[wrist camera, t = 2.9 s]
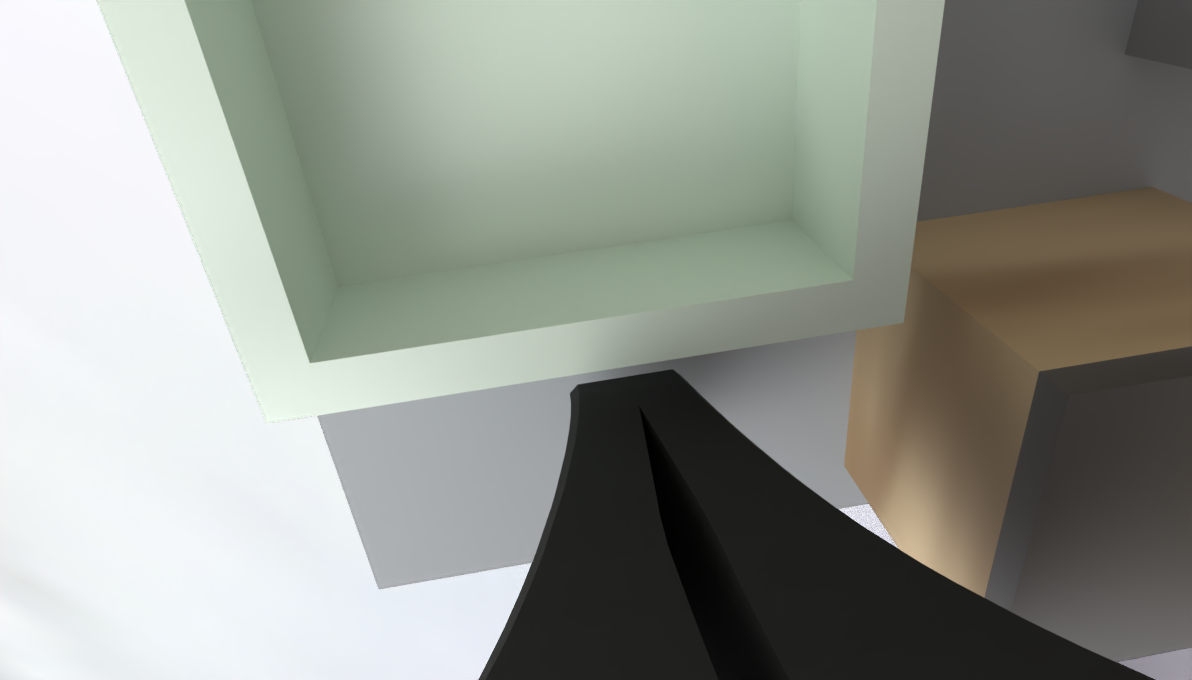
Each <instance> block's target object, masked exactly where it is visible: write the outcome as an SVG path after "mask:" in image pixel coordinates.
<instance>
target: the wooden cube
mask: <svg viewBox="0 0 1192 680" xmlns="http://www.w3.org/2000/svg"><path fill="white" fill-rule="evenodd" d="M844 467H845V468H846V470H847V471H848V473H849V474H850V476H851V477H852V479H853V480H854V482H855V483H856V485H857V486H858V488H859V489H860V491H861V492H862V494H863V495H864V497H865V498H866V500H867V501H868V503H869V504H870V506H871V507H872V509H873V510H874V512H875V513H876V515H877V516H878V518H879V520H880V521H881V523H882V524H883V526H884V527H885V529H886V530H887V532H888V533H889V535H890V536H891V538H892V539H893V541H894V542H895V544H896V545H897V547H898V548H899V549H900V550H901V551H903V552H904V553H906V554H908V555H909V556H911V557H912V558H914V559H916V560H917V561H919V562H921V563H922V564H924V565H926V566H927V567H929V568H931V569H933V570H934V571H936V572H938V573H940V574H942V575H943V576H945V577H947V578H949V579H950V580H952V581H954V582H956V583H957V584H959V585H961V586H963V587H965V588H967V589H969V590H971V591H973V592H974V593H976V594H978V595H980V596H982V597H984V598H986V599H988V600H990V601H991V602H993V603H995V604H997V605H999V606H1001V607H1003V608H1005V609H1007V610H1009V611H1010V612H1012V613H1014V614H1016V615H1018V616H1020V617H1022V618H1024V619H1026V620H1028V621H1030V622H1032V623H1034V624H1036V625H1038V626H1040V627H1042V628H1044V629H1046V630H1048V631H1050V632H1052V633H1054V634H1056V635H1059V636H1061V637H1063V638H1065V639H1067V640H1069V641H1071V642H1073V643H1075V644H1077V645H1079V646H1081V647H1083V648H1086V649H1088V650H1090V651H1092V652H1095V653H1097V654H1099V655H1101V656H1104V657H1106V658H1108V659H1110V660H1112V661H1115V662H1119V661H1125V660H1130V659H1135V658H1140V657H1145V656H1150V655H1155V654H1160V653H1166V652H1171V651H1176V650H1181V649H1186V648H1191V647H1192V203H1191V202H1188V201H1186V200H1183V199H1181V198H1178V197H1176V196H1174V195H1171V194H1169V193H1166V192H1164V191H1161V190H1159V189H1156V188H1154V187H1148V188H1142V189H1135V190H1128V191H1121V192H1115V193H1108V194H1101V195H1094V196H1088V197H1081V198H1074V199H1068V200H1061V201H1054V202H1047V203H1041V204H1034V205H1027V206H1020V207H1014V208H1007V209H1000V210H993V211H987V212H980V213H973V214H967V215H960V216H953V217H946V218H940V219H933V220H926V221H919V222H917V223H916V230H915V238H914V246H913V254H912V262H911V269H910V277H909V285H908V293H907V301H906V309H905V316H904V323H900V324H894V325H887V326H881V327H875V328H868V329H862V330H857V331H856V342H855V353H854V364H853V375H852V386H851V397H850V408H849V419H848V430H847V440H846V451H845V462H844Z"/></svg>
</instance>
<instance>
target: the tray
mask: <svg viewBox="0 0 1192 680" xmlns="http://www.w3.org/2000/svg"><path fill="white" fill-rule="evenodd" d="M97 2H98V5H99V7H100V10H101V12H102V15H103V17H104V20H105V22H106V25H107V27H108V30H109V32H110V35H111V37H112V40H113V42H114V45H115V47H116V50H117V52H118V55H119V57H120V60H121V62H122V65H123V67H124V70H125V72H126V75H127V77H128V80H129V82H130V85H131V87H132V90H133V92H134V95H135V97H136V100H137V102H138V105H139V107H140V110H141V112H142V115H143V117H144V120H145V122H146V125H147V127H148V130H149V132H150V135H151V137H152V140H153V142H154V145H155V147H156V150H157V152H158V155H159V157H160V160H161V162H162V165H163V167H164V170H165V172H166V175H167V177H168V180H169V182H170V185H171V187H172V190H173V192H174V195H175V197H176V200H177V202H178V205H179V207H180V210H181V212H182V215H183V217H184V220H185V222H186V225H187V227H188V230H189V232H190V235H191V237H192V240H193V242H194V245H195V247H196V250H197V252H198V255H199V257H200V260H201V262H202V265H203V267H204V270H205V272H206V275H207V277H208V280H209V282H210V285H211V287H212V290H213V292H214V294H215V297H216V299H217V302H218V304H219V307H220V309H221V312H222V314H223V317H224V319H225V322H226V324H227V327H228V329H229V332H230V334H231V337H232V339H233V342H234V344H235V347H236V349H237V352H238V354H239V357H240V359H241V362H242V364H243V367H244V369H245V372H246V374H247V377H248V379H249V382H250V384H251V387H252V389H253V392H254V394H255V397H256V399H257V402H258V404H259V407H260V409H261V412H262V414H263V417H264V419H265V422H266V424H268V423H274V422H280V421H287V420H293V419H299V418H306V417H312V416H318V415H325V414H331V413H337V412H344V411H350V410H356V409H363V408H369V407H375V406H382V405H388V404H394V403H400V402H407V401H413V400H419V399H426V398H432V397H438V396H445V395H451V394H457V393H464V392H470V391H476V390H483V389H489V388H495V387H502V386H508V385H514V384H521V383H527V382H533V381H540V380H546V379H552V378H559V377H565V376H571V375H578V374H584V373H590V372H596V371H603V370H609V369H615V368H622V367H628V366H634V365H641V364H647V363H653V362H660V361H666V360H672V359H679V358H685V357H691V356H698V355H704V354H710V353H717V352H723V351H729V350H736V349H742V348H748V347H755V346H761V345H767V344H774V343H780V342H786V341H792V340H799V339H805V338H811V337H818V336H824V335H830V334H837V333H843V332H849V331H856V330H862V329H868V328H875V327H881V326H887V325H894V324H900V323H904V316H905V309H906V301H907V293H908V285H909V277H910V269H911V262H912V254H913V246H914V238H915V230H916V223H917V215H918V207H919V199H920V191H921V183H922V176H923V168H924V160H925V152H926V144H927V137H928V129H929V121H930V113H931V105H932V97H933V90H934V82H935V74H936V66H937V58H938V50H939V43H940V35H941V27H942V19H943V11H944V4H945V0H97Z"/></svg>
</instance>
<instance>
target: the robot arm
mask: <svg viewBox="0 0 1192 680" xmlns="http://www.w3.org/2000/svg"><path fill="white" fill-rule="evenodd" d="M570 399H571V418H570V427H569V434H568V440H567V446H566V451H565V456H564V460H563V464H562V468H561V472H560V476H559V480H558V484H557V488H556V492H555V496H554V499H553V503H552V506H551V509H550V512H549V515H548V518H547V521H546V524H545V527H544V530H543V533H542V536H541V539H540V542H539V545H538V548H537V551H536V554H535V556H534V559H533V562H532V564H531V567H530V569H529V572H528V574H527V577H526V579H525V582H524V584H523V587H522V589H521V592H520V594H519V596H518V599H517V601H516V603H515V605H514V608H513V610H512V612H511V614H510V617H509V619H508V621H507V623H506V626H505V628H504V630H503V632H502V634H501V636H500V638H499V640H498V642H497V644H496V646H495V648H494V650H493V652H492V654H491V656H490V658H489V660H488V662H487V664H486V666H485V668H484V670H483V672H482V674H481V676H480V678H479V680H1155V679H1153V678H1150V677H1148V676H1146V675H1144V674H1141V673H1139V672H1137V671H1135V670H1133V669H1130V668H1128V667H1126V666H1124V665H1121V664H1119V663H1117V662H1115V661H1112V660H1110V659H1108V658H1106V657H1104V656H1101V655H1099V654H1097V653H1095V652H1092V651H1090V650H1088V649H1086V648H1083V647H1081V646H1079V645H1077V644H1075V643H1073V642H1071V641H1069V640H1067V639H1065V638H1063V637H1061V636H1059V635H1056V634H1054V633H1052V632H1050V631H1048V630H1046V629H1044V628H1042V627H1040V626H1038V625H1036V624H1034V623H1032V622H1030V621H1028V620H1026V619H1024V618H1022V617H1020V616H1018V615H1016V614H1014V613H1012V612H1010V611H1009V610H1007V609H1005V608H1003V607H1001V606H999V605H997V604H995V603H993V602H991V601H990V600H988V599H986V598H984V597H982V596H980V595H978V594H976V593H974V592H973V591H971V590H969V589H967V588H965V587H963V586H961V585H959V584H957V583H956V582H954V581H952V580H950V579H949V578H947V577H945V576H943V575H942V574H940V573H938V572H936V571H934V570H933V569H931V568H929V567H927V566H926V565H924V564H922V563H921V562H919V561H917V560H916V559H914V558H912V557H911V556H909V555H908V554H906V553H904V552H903V551H901V550H900V549H898V548H896V547H895V546H893V545H892V544H890V543H888V542H887V541H885V540H884V539H882V538H880V537H879V536H877V535H875V534H874V533H872V532H871V531H869V530H867V529H866V528H864V527H863V526H861V525H860V524H858V523H857V522H856V521H854V520H853V519H851V518H850V517H848V516H847V515H846V514H844V513H843V512H841V511H840V510H838V509H837V508H836V507H834V506H833V505H832V504H830V503H829V502H828V501H826V500H825V499H823V498H822V497H821V496H819V495H818V494H817V493H815V492H814V491H813V490H811V489H810V488H809V487H807V486H806V485H805V484H803V483H802V482H801V481H799V480H798V479H797V478H796V477H794V476H793V475H792V474H791V473H789V472H788V471H787V470H785V469H784V468H783V467H782V466H781V465H779V464H778V463H777V462H776V461H775V460H773V459H772V458H771V457H770V456H769V455H767V454H766V453H765V452H764V451H763V450H761V449H760V448H759V447H758V446H757V445H755V444H754V443H753V442H752V441H751V440H749V439H748V438H747V437H746V436H745V435H744V434H743V433H741V432H740V431H739V430H738V429H737V428H736V427H735V426H734V425H732V424H731V423H730V422H729V421H728V420H727V419H726V418H725V417H724V416H723V415H722V414H720V413H719V412H718V411H717V410H716V409H715V408H714V407H713V406H712V405H711V404H710V403H709V402H708V401H707V400H706V399H705V398H704V397H702V396H701V395H700V394H699V393H698V392H697V391H696V390H695V389H694V388H693V387H692V386H691V385H690V384H689V383H688V382H687V381H686V380H685V379H684V378H683V377H682V376H681V375H680V374H678V373H677V372H676V371H675V370H673V369H670V370H664V371H658V372H652V373H646V374H639V375H633V376H627V377H621V378H614V379H608V380H602V381H596V382H589V383H583V384H578V385H577V386H576V387H575V388H574V389H573V390H572V391H571V393H570Z"/></svg>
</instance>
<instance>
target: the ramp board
mask: <svg viewBox="0 0 1192 680" xmlns="http://www.w3.org/2000/svg"><path fill="white" fill-rule="evenodd" d="M1148 187H1154V188H1156V189H1159V190H1161V191H1164V192H1166V193H1169V194H1171V195H1174V196H1176V197H1178V198H1181V199H1183V200H1186V201H1188V202H1191V203H1192V0H945V4H944V11H943V19H942V27H941V35H940V43H939V50H938V58H937V66H936V74H935V82H934V90H933V97H932V105H931V113H930V121H929V129H928V137H927V144H926V152H925V160H924V168H923V176H922V183H921V191H920V199H919V207H918V215H917V222H919V221H926V220H933V219H940V218H946V217H953V216H960V215H967V214H973V213H980V212H987V211H993V210H1000V209H1007V208H1014V207H1020V206H1027V205H1034V204H1041V203H1047V202H1054V201H1061V200H1068V199H1074V198H1081V197H1088V196H1094V195H1101V194H1108V193H1115V192H1121V191H1128V190H1135V189H1142V188H1148ZM856 331H857V330H856ZM856 331H849V332H843V333H837V334H830V335H824V336H818V337H811V338H805V339H799V340H792V341H786V342H780V343H774V344H767V345H761V346H755V347H748V348H742V349H736V350H729V351H723V352H717V353H710V354H704V355H698V356H691V357H685V358H679V359H672V360H666V361H660V362H653V363H647V364H641V365H634V366H628V367H622V368H615V369H609V370H603V371H596V372H590V373H584V374H578V375H571V376H565V377H559V378H552V379H546V380H540V381H533V382H527V383H521V384H514V385H508V386H502V387H495V388H489V389H483V390H476V391H470V392H464V393H457V394H451V395H445V396H438V397H432V398H426V399H419V400H413V401H407V402H400V403H394V404H388V405H382V406H375V407H369V408H363V409H356V410H350V411H344V412H337V413H331V414H325V415H318V419H319V422H320V425H321V428H322V430H323V433H324V436H325V439H326V442H327V445H328V447H329V450H330V453H331V456H332V459H333V461H334V464H335V467H336V470H337V473H338V476H339V478H340V481H341V484H342V487H343V490H344V492H345V495H346V498H347V501H348V504H349V507H350V509H351V512H352V515H353V518H354V521H355V523H356V526H357V529H358V532H359V535H360V538H361V540H362V543H363V546H364V549H365V552H366V554H367V557H368V560H369V563H370V566H371V569H372V571H373V574H374V577H375V580H376V583H377V585H378V588H379V589H384V588H389V587H395V586H401V585H407V584H412V583H418V582H424V581H429V580H435V579H441V578H447V577H452V576H458V575H464V574H469V573H475V572H481V571H487V570H492V569H498V568H504V567H509V566H515V565H521V564H527V563H532V562H533V559H534V556H535V554H536V551H537V548H538V545H539V542H540V539H541V536H542V533H543V530H544V527H545V524H546V521H547V518H548V515H549V512H550V509H551V506H552V503H553V499H554V496H555V492H556V488H557V484H558V480H559V476H560V472H561V468H562V464H563V460H564V456H565V451H566V446H567V440H568V434H569V427H570V418H571V399H570V393H571V391H572V390H573V389H574V388H575V387H576V386H577V385H578V384H583V383H589V382H596V381H602V380H608V379H614V378H621V377H627V376H633V375H639V374H646V373H652V372H658V371H664V370H670V369H673V370H675V371H676V372H677V373H678V374H680V375H681V376H682V377H683V378H684V379H685V380H686V381H687V382H688V383H689V384H690V385H691V386H692V387H693V388H694V389H695V390H696V391H697V392H698V393H699V394H700V395H701V396H702V397H704V398H705V399H706V400H707V401H708V402H709V403H710V404H711V405H712V406H713V407H714V408H715V409H716V410H717V411H718V412H719V413H720V414H722V415H723V416H724V417H725V418H726V419H727V420H728V421H729V422H730V423H731V424H732V425H734V426H735V427H736V428H737V429H738V430H739V431H740V432H741V433H743V434H744V435H745V436H746V437H747V438H748V439H749V440H751V441H752V442H753V443H754V444H755V445H757V446H758V447H759V448H760V449H761V450H763V451H764V452H765V453H766V454H767V455H769V456H770V457H771V458H772V459H773V460H775V461H776V462H777V463H778V464H779V465H781V466H782V467H783V468H784V469H785V470H787V471H788V472H789V473H791V474H792V475H793V476H794V477H796V478H797V479H798V480H799V481H801V482H802V483H803V484H805V485H806V486H807V487H809V488H810V489H811V490H813V491H814V492H815V493H817V494H818V495H819V496H821V497H822V498H823V499H825V500H826V501H828V502H829V503H830V504H832V505H833V506H834V507H836V508H837V509H841V508H846V507H852V506H858V505H863V504H869V503H868V501H867V500H866V498H865V497H864V495H863V494H862V492H861V491H860V489H859V488H858V486H857V485H856V483H855V482H854V480H853V479H852V477H851V476H850V474H849V473H848V471H847V470H846V468H845V467H844V462H845V451H846V440H847V430H848V419H849V408H850V397H851V386H852V375H853V364H854V353H855V342H856Z"/></svg>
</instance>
